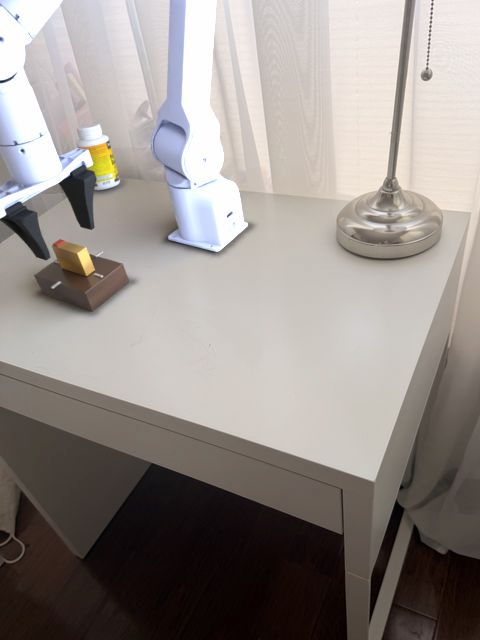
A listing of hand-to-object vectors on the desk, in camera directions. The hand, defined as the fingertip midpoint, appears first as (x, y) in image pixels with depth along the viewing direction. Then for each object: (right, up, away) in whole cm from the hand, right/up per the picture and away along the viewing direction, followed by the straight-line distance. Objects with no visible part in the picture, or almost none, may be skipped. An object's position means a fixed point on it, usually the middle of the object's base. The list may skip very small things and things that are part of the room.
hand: (66, 242), depth 69 cm
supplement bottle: (-3, +15, +28) cm, 32 cm away
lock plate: (+1, -5, +5) cm, 7 cm away
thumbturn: (+1, -3, +3) cm, 4 cm away
